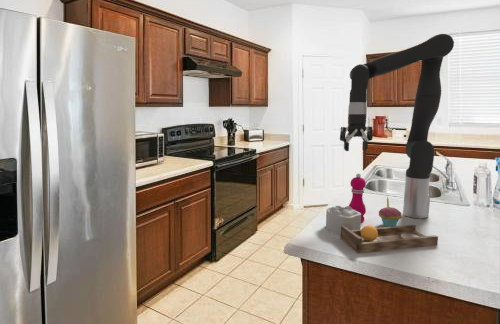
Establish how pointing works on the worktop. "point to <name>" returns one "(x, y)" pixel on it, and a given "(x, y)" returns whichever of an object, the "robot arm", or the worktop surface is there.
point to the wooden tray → (387, 239)
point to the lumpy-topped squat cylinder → (342, 219)
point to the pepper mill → (358, 195)
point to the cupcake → (389, 215)
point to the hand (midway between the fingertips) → (355, 150)
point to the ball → (369, 233)
